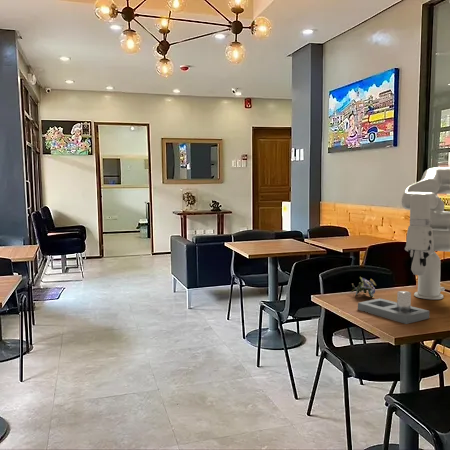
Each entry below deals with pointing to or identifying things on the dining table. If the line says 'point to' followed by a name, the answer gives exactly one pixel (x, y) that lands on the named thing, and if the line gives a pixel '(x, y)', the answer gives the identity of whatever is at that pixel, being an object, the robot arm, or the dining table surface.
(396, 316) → the hole plate
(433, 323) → the dining table surface
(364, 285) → the toy creature figurine
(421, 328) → the dining table surface
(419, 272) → the salt shaker
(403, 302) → the steel pin
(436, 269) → the robot arm
